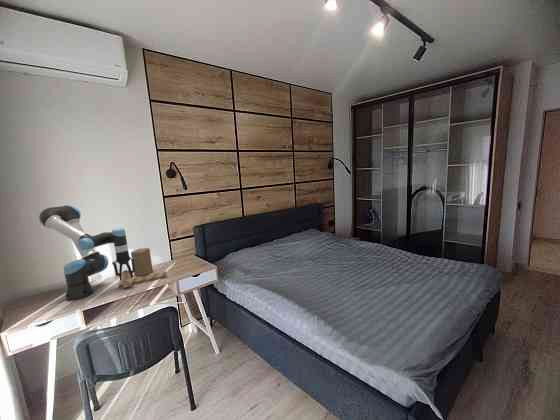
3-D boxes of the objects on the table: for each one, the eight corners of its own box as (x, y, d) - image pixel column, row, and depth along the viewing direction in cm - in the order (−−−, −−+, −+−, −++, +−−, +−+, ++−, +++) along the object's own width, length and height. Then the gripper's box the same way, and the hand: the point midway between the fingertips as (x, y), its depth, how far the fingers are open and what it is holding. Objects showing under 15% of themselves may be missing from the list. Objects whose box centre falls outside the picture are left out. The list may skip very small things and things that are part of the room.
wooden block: (153, 271, 210) (149, 247, 207) (145, 276, 200) (142, 251, 197) (142, 271, 211) (138, 248, 208) (134, 276, 201) (130, 252, 198)
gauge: (124, 287, 175) (121, 272, 174) (126, 281, 187) (124, 267, 185) (130, 286, 177) (128, 271, 176) (132, 280, 188) (130, 266, 187)
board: (118, 287, 180) (118, 285, 180) (120, 283, 188) (120, 280, 188) (166, 277, 192) (166, 275, 192) (166, 273, 201) (166, 271, 200)
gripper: (106, 254, 169) (112, 288, 171) (135, 249, 175) (140, 282, 178) (108, 252, 175) (114, 284, 178) (136, 247, 182) (141, 278, 185)
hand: (127, 283), depth 178 cm, fingers closed on gauge, 4 cm apart
